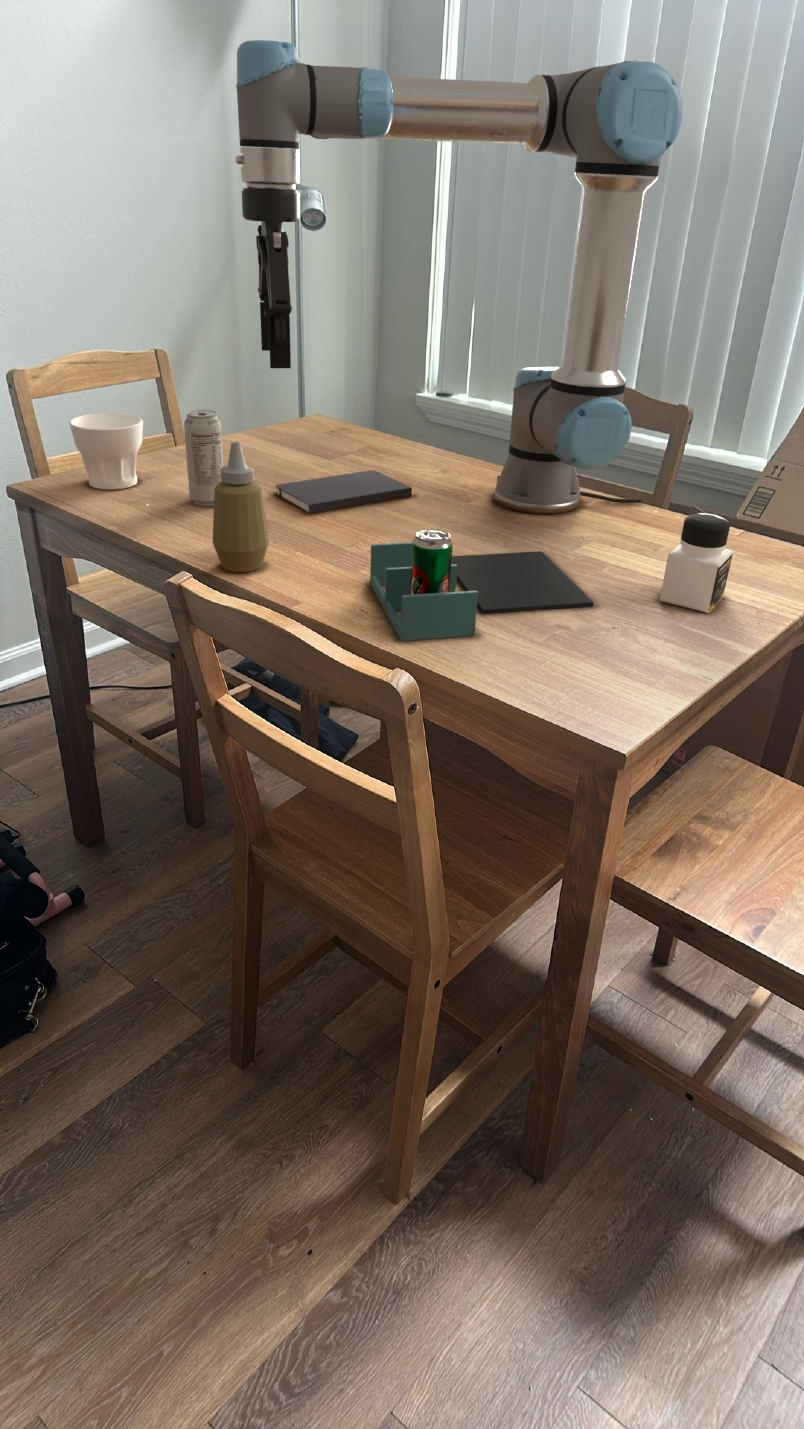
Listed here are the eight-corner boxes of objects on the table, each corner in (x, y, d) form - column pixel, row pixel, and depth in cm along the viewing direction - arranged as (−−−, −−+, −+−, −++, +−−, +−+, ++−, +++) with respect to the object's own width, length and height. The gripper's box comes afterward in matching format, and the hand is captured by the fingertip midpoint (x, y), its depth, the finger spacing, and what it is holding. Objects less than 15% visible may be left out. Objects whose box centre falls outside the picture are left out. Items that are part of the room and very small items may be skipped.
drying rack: (435, 580, 137) (438, 540, 134) (474, 635, 121) (478, 592, 118) (370, 584, 135) (370, 543, 132) (401, 641, 119) (402, 597, 116)
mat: (541, 554, 147) (541, 551, 147) (593, 606, 131) (593, 602, 130) (442, 560, 144) (442, 556, 144) (482, 613, 127) (483, 609, 127)
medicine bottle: (709, 614, 130) (727, 529, 124) (658, 601, 133) (674, 518, 127) (723, 597, 135) (741, 515, 129) (674, 585, 138) (690, 505, 132)
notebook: (309, 513, 160) (411, 495, 171) (308, 504, 160) (412, 487, 170) (273, 493, 169) (373, 477, 180) (273, 484, 169) (373, 469, 179)
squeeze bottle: (224, 579, 134) (216, 452, 125) (206, 560, 140) (198, 437, 131) (278, 571, 138) (274, 447, 129) (258, 553, 144) (253, 433, 135)
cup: (163, 481, 173) (157, 419, 168) (111, 497, 164) (103, 433, 159) (115, 469, 179) (108, 409, 173) (62, 484, 170) (53, 421, 164)
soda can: (444, 632, 122) (449, 543, 116) (405, 628, 122) (409, 539, 116) (450, 617, 126) (456, 530, 120) (413, 612, 127) (416, 526, 121)
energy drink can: (222, 495, 168) (217, 408, 160) (228, 505, 163) (222, 416, 155) (187, 497, 166) (180, 409, 158) (192, 508, 161) (185, 418, 153)
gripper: (235, 183, 133) (242, 343, 143) (248, 188, 112) (255, 376, 122) (288, 185, 134) (292, 343, 145) (311, 191, 113) (313, 376, 124)
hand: (275, 359), depth 134 cm, fingers open, 13 cm apart
